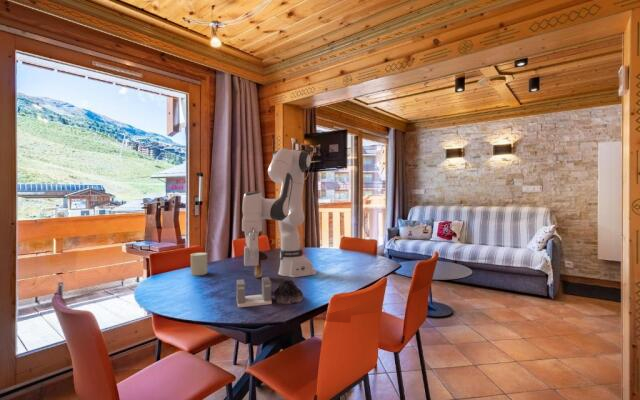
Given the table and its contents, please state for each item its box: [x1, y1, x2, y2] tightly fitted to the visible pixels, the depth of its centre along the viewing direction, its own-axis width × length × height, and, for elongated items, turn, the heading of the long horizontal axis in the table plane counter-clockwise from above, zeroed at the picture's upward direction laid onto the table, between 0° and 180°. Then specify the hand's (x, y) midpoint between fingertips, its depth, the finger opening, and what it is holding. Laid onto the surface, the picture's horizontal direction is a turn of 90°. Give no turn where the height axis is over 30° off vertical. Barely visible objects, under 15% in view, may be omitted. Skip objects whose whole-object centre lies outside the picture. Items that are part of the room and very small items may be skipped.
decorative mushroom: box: [253, 250, 269, 279], centre depth 178 cm, size 11×11×15 cm
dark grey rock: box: [273, 279, 304, 305], centre depth 141 cm, size 14×14×10 cm
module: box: [243, 245, 260, 267], centre depth 145 cm, size 6×5×8 cm
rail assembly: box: [235, 276, 273, 308], centre depth 139 cm, size 14×11×9 cm
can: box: [190, 252, 208, 276], centre depth 187 cm, size 9×9×12 cm
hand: (251, 257), depth 145 cm, fingers closed on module, 5 cm apart
